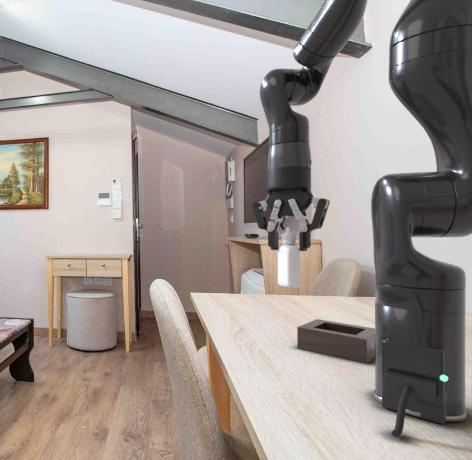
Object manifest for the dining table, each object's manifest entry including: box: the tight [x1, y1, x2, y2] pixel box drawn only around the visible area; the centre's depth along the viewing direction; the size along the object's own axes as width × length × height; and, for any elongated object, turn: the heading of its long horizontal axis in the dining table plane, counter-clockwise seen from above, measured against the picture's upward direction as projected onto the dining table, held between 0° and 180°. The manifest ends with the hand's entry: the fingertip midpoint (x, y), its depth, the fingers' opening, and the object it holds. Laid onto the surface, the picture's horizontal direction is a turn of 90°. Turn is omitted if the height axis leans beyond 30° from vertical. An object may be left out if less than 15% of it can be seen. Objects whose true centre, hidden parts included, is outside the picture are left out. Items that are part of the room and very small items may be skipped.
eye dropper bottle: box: [277, 226, 301, 288], centre depth 78 cm, size 4×6×12 cm
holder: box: [296, 318, 375, 364], centre depth 79 cm, size 12×12×4 cm
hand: (288, 250), depth 78 cm, fingers closed on eye dropper bottle, 4 cm apart
